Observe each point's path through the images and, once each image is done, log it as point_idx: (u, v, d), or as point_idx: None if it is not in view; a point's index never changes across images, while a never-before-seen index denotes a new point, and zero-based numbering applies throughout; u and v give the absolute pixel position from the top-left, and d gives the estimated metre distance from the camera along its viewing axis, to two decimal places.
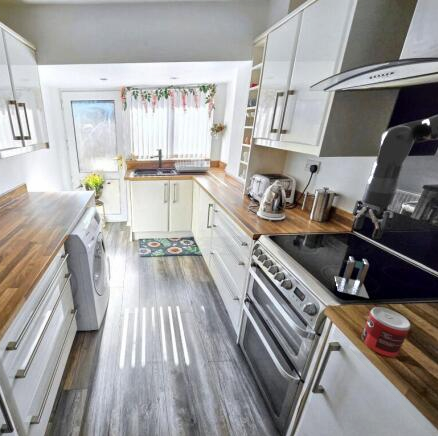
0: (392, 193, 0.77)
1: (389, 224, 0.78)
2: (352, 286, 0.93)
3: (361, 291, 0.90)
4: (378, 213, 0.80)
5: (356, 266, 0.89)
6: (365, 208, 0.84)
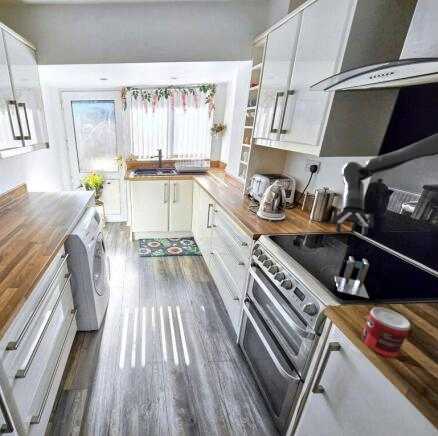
0: None
1: None
2: (352, 286, 0.93)
3: (361, 291, 0.90)
4: (362, 215, 1.04)
5: (356, 266, 0.89)
6: (350, 213, 1.05)
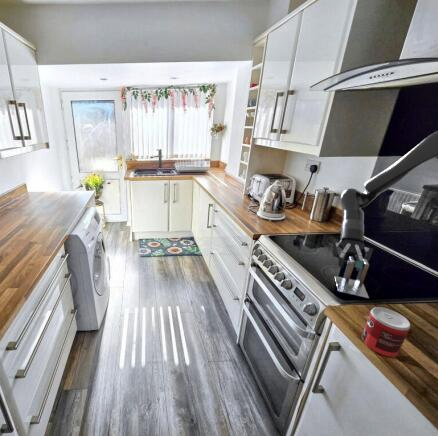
0: None
1: None
2: (352, 286, 0.93)
3: (361, 291, 0.90)
4: (362, 248, 0.98)
5: (356, 266, 0.89)
6: (349, 244, 1.00)
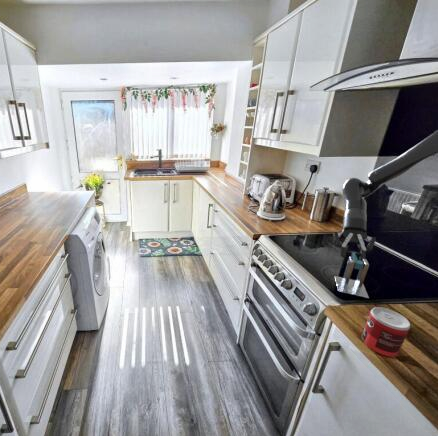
0: None
1: None
2: (352, 286, 0.93)
3: (361, 291, 0.90)
4: (365, 237, 0.97)
5: (355, 267, 0.89)
6: (351, 234, 0.99)
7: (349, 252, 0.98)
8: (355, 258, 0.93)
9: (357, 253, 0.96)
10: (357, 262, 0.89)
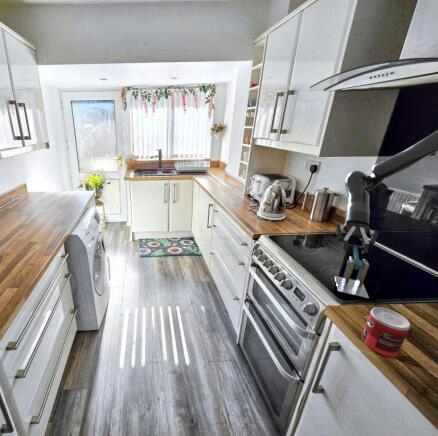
0: None
1: None
2: (352, 286, 0.93)
3: (361, 291, 0.90)
4: (368, 230, 0.96)
5: (355, 268, 0.89)
6: (354, 227, 0.97)
7: (351, 246, 0.96)
8: (356, 256, 0.92)
9: (359, 247, 0.95)
10: (357, 263, 0.89)
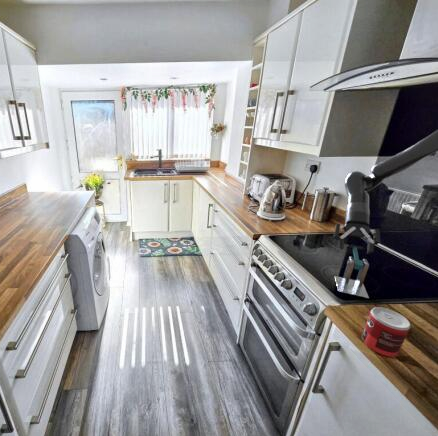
0: None
1: None
2: (352, 286, 0.93)
3: (361, 291, 0.90)
4: (368, 231, 0.95)
5: (355, 268, 0.89)
6: (354, 227, 0.97)
7: (351, 247, 0.96)
8: (356, 256, 0.92)
9: (359, 248, 0.95)
10: (357, 263, 0.89)
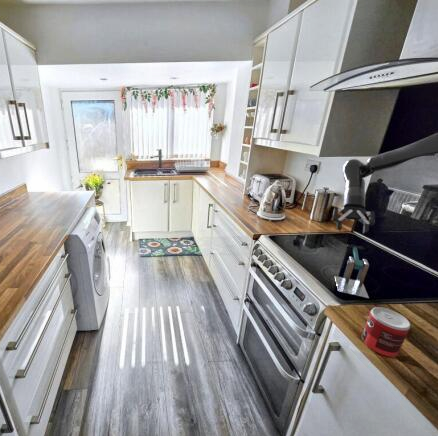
0: None
1: None
2: (352, 286, 0.93)
3: (361, 291, 0.90)
4: (364, 213, 1.04)
5: (355, 268, 0.89)
6: (351, 210, 1.05)
7: (351, 247, 0.96)
8: (356, 256, 0.92)
9: (359, 248, 0.95)
10: (357, 263, 0.89)
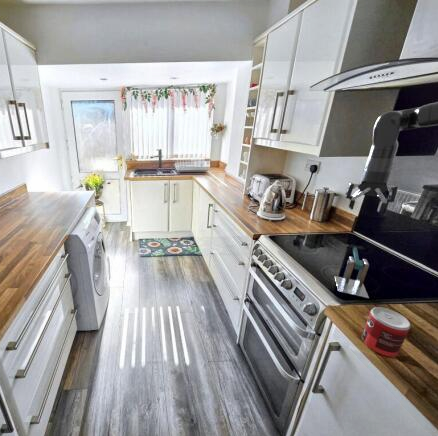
0: None
1: None
2: (352, 286, 0.93)
3: (361, 291, 0.90)
4: (384, 190, 0.89)
5: (355, 268, 0.89)
6: (369, 188, 0.91)
7: (351, 247, 0.96)
8: (356, 256, 0.92)
9: (359, 248, 0.95)
10: (357, 263, 0.89)
